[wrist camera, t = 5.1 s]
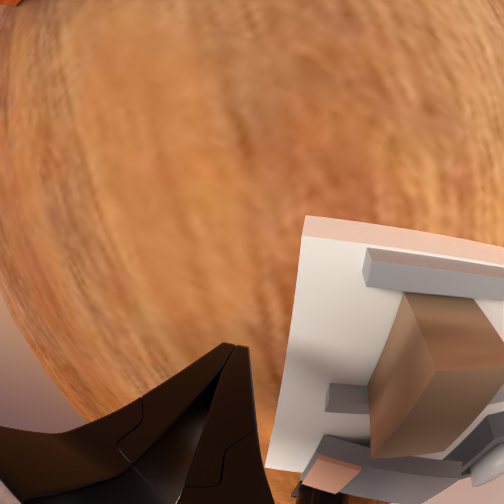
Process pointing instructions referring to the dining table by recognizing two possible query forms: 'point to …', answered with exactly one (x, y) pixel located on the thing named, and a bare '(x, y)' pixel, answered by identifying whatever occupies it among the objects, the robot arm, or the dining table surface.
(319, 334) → the panel
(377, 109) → the dining table surface
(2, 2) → the whiskey bottle
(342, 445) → the rocker switch
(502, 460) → the push button
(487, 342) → the slider knob
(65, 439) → the robot arm
